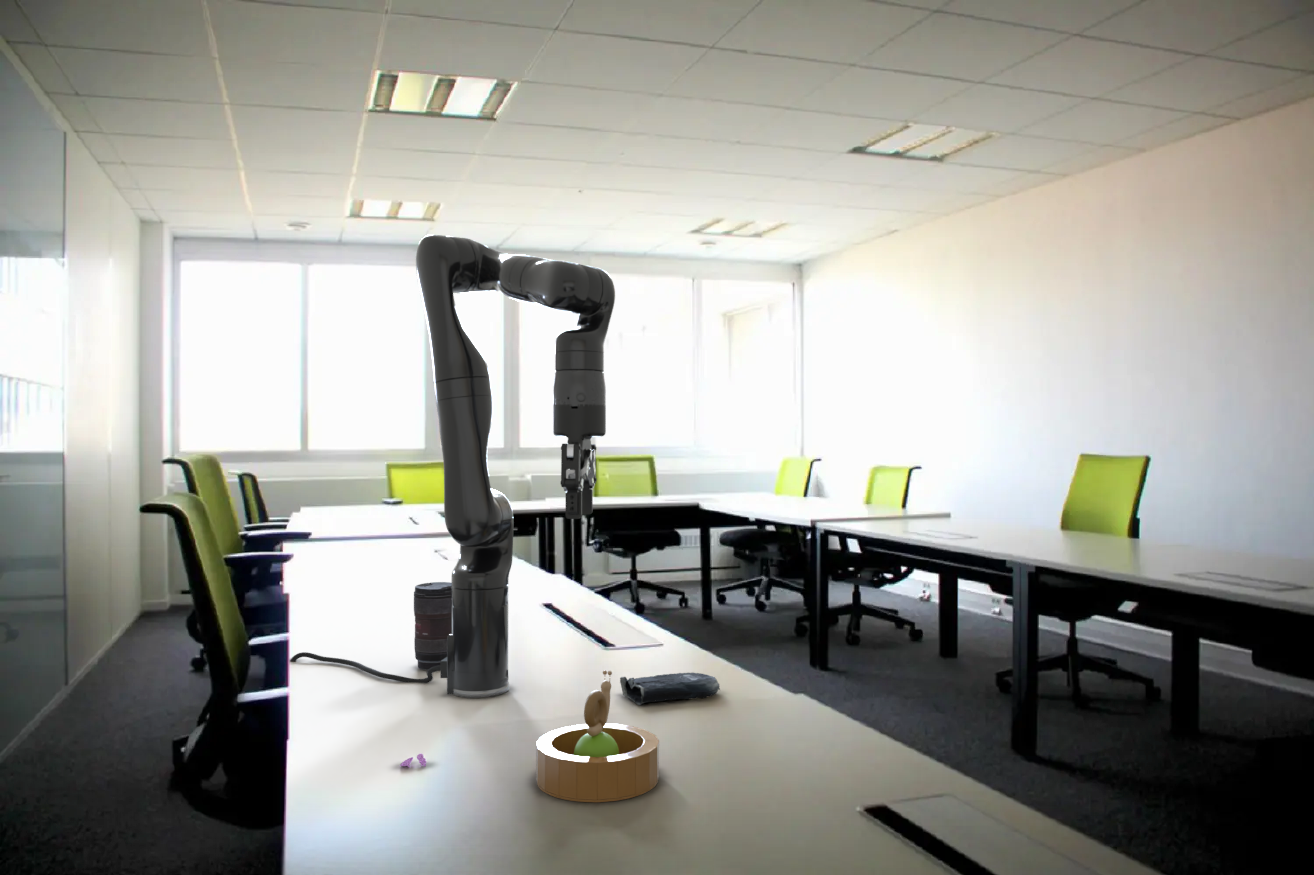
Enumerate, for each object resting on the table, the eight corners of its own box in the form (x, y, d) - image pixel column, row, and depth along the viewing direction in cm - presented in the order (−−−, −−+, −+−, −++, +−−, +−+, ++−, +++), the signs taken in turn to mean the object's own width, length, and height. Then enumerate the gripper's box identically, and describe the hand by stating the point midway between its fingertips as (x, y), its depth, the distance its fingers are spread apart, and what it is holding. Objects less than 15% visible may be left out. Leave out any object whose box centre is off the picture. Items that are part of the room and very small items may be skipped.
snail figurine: (628, 770, 112) (628, 671, 112) (608, 788, 105) (608, 684, 106) (587, 765, 113) (588, 668, 114) (566, 782, 107) (566, 680, 107)
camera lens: (404, 669, 165) (404, 586, 165) (431, 660, 172) (431, 580, 172) (441, 673, 162) (441, 589, 162) (467, 663, 169) (467, 583, 169)
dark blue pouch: (644, 718, 139) (730, 693, 145) (638, 681, 139) (723, 659, 146) (623, 710, 147) (704, 688, 154) (617, 676, 148) (698, 655, 154)
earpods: (406, 779, 113) (405, 774, 112) (400, 767, 114) (399, 763, 113) (428, 765, 115) (428, 761, 113) (422, 754, 115) (421, 750, 114)
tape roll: (523, 799, 103) (523, 759, 103) (551, 757, 117) (551, 721, 117) (651, 804, 101) (651, 764, 101) (663, 760, 116) (663, 725, 116)
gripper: (563, 406, 138) (563, 513, 138) (542, 400, 124) (542, 520, 124) (612, 405, 137) (612, 513, 137) (597, 400, 123) (597, 520, 123)
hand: (579, 516), depth 130 cm, fingers open, 8 cm apart
